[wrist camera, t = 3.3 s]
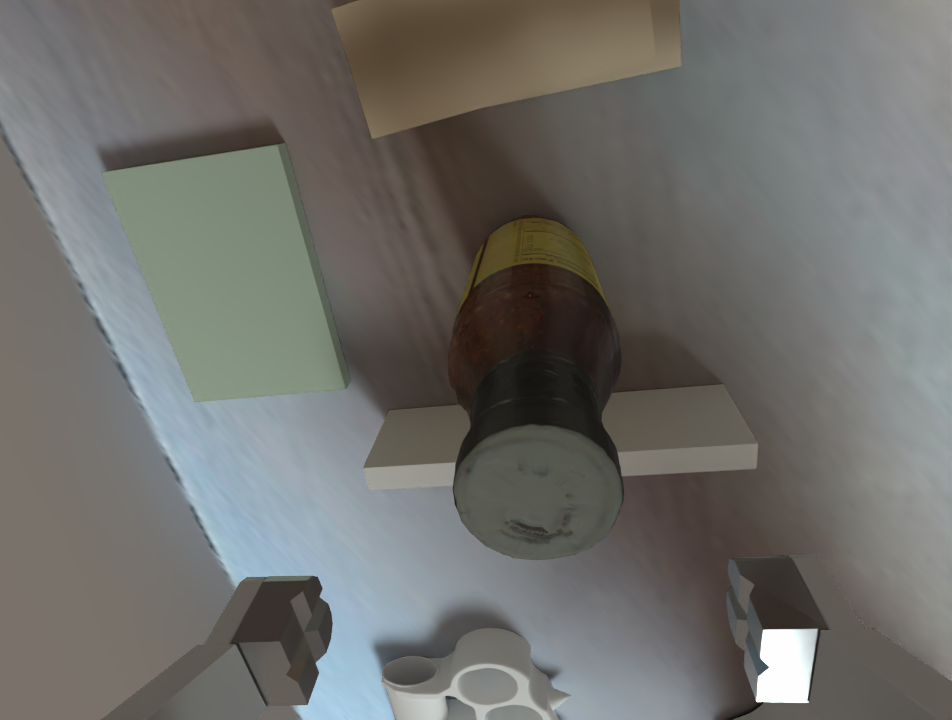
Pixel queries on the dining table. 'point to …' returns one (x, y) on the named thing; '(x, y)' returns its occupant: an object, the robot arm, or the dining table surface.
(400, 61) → the offcut upper
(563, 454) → the sauce bottle
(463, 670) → the white hole rack
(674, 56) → the offcut lower
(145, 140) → the dining table surface
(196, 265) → the green mat
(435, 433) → the rail
